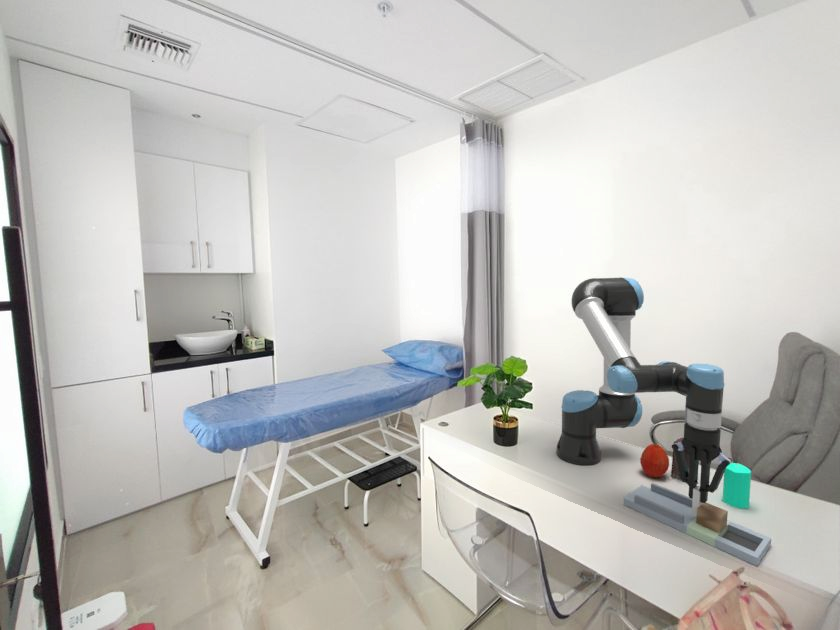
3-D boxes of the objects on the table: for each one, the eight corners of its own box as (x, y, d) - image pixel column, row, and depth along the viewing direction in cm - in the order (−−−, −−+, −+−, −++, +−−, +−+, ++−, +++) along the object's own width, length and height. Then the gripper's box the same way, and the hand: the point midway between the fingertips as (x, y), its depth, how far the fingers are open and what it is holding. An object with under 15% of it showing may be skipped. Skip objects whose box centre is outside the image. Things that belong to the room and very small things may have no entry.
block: (696, 523, 100) (696, 508, 99) (703, 516, 102) (704, 501, 102) (719, 533, 96) (720, 518, 95) (726, 525, 98) (727, 511, 98)
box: (686, 482, 122) (687, 446, 121) (670, 476, 126) (672, 441, 125) (694, 476, 126) (696, 441, 124) (679, 470, 129) (680, 436, 128)
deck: (623, 504, 112) (623, 491, 111) (641, 491, 118) (642, 478, 118) (756, 566, 88) (758, 549, 87) (770, 545, 94) (772, 530, 93)
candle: (724, 494, 116) (727, 455, 114) (750, 502, 111) (753, 462, 110) (720, 502, 112) (722, 462, 110) (746, 511, 107) (749, 470, 106)
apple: (672, 483, 122) (674, 450, 121) (643, 479, 125) (644, 447, 123) (664, 470, 130) (666, 439, 129) (637, 467, 132) (638, 437, 131)
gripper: (667, 421, 102) (663, 505, 104) (728, 437, 91) (721, 530, 94) (679, 414, 106) (675, 495, 109) (738, 429, 96) (732, 518, 98)
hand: (697, 511), depth 101 cm, fingers closed
